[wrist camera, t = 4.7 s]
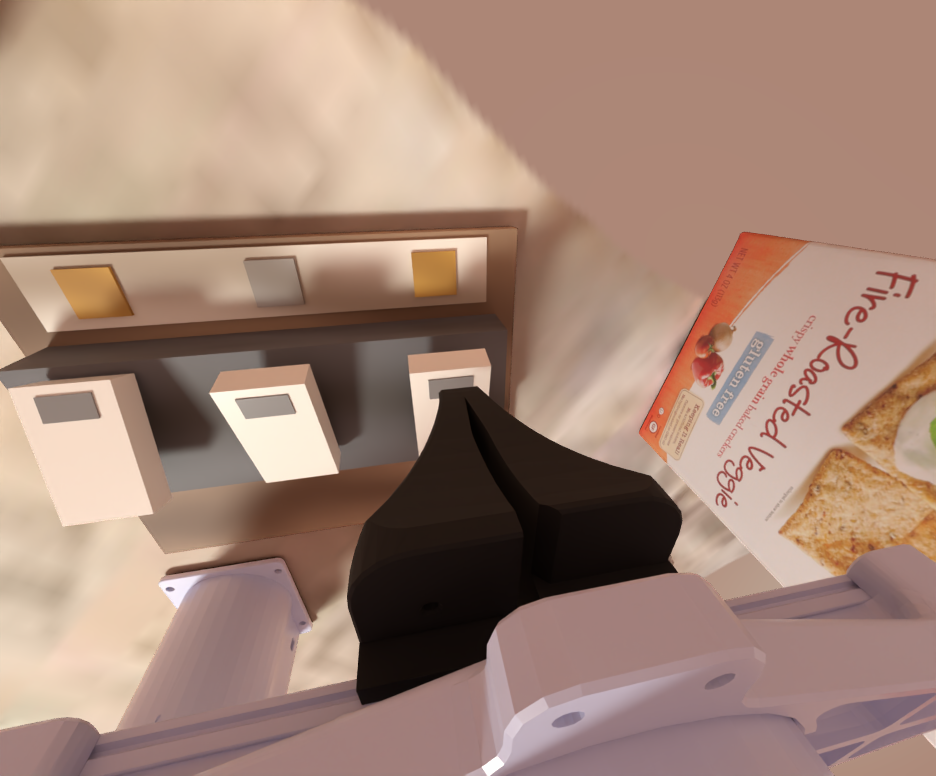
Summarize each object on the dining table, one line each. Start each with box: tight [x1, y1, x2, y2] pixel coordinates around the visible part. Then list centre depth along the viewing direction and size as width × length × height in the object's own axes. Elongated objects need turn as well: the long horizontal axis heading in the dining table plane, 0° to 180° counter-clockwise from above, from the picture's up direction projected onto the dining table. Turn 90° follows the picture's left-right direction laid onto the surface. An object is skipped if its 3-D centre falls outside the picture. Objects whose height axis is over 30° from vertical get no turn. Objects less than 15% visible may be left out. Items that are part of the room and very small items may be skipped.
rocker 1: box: [8, 373, 172, 526], centre depth 14 cm, size 6×3×1 cm, turn 1°
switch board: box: [0, 226, 518, 554], centre depth 19 cm, size 18×22×3 cm
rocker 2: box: [209, 364, 341, 483], centre depth 15 cm, size 6×3×1 cm, turn 1°
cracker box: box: [639, 232, 936, 748], centre depth 14 cm, size 14×6×21 cm, turn 169°
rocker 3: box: [408, 348, 491, 456], centre depth 16 cm, size 6×3×1 cm, turn 1°
